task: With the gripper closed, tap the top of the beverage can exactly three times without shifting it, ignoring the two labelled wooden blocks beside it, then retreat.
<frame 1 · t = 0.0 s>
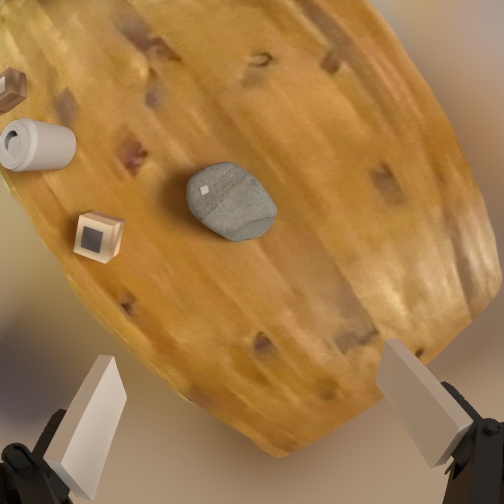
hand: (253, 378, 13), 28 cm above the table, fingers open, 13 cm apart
beech block: (106, 231, 38), on the table
stone: (232, 203, 39), on the table
beverage can: (62, 148, 34), on the table
walnut block: (16, 93, 30), on the table
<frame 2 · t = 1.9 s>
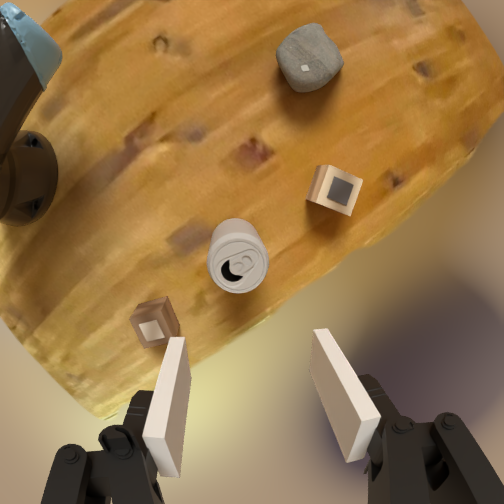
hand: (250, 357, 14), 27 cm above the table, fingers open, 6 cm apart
beech block: (327, 188, 40), on the table
stone: (307, 64, 35), on the table
beverage can: (235, 240, 40), on the table
walnut block: (159, 314, 42), on the table
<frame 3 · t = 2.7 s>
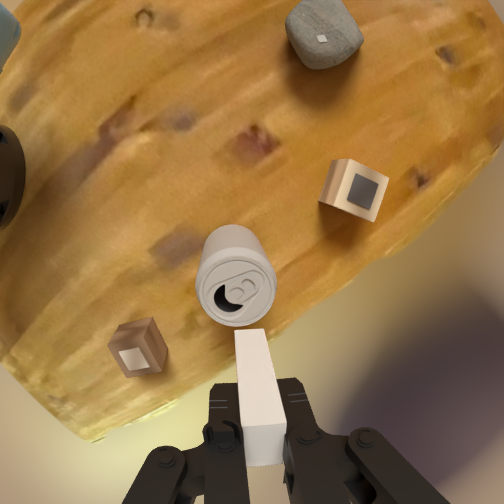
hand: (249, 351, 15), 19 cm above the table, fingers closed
beech block: (343, 187, 32), on the table
stone: (321, 39, 27), on the table
beverage can: (232, 250, 33), on the table
walnut block: (143, 336, 35), on the table
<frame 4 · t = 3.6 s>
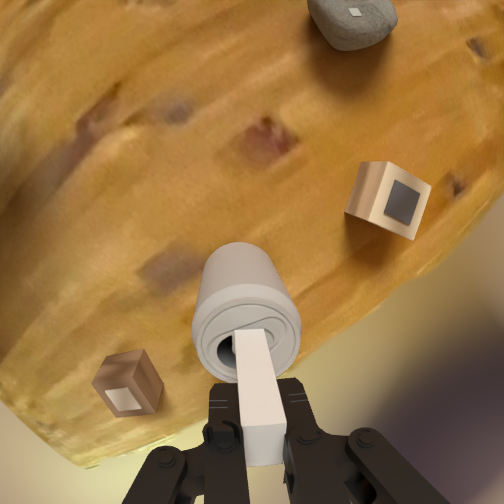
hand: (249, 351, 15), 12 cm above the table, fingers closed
beech block: (374, 196, 26), on the table
stone: (347, 18, 21), on the table
beverage can: (238, 273, 27), on the table, touching gripper
walnut block: (134, 370, 29), on the table
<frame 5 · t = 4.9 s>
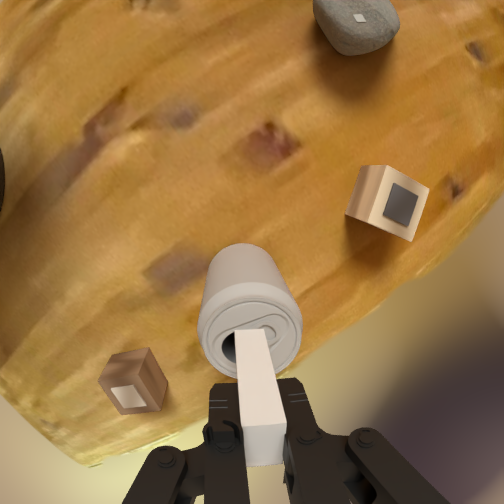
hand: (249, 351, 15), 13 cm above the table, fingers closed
beech block: (373, 199, 27), on the table
stone: (351, 23, 22), on the table
beverage can: (242, 273, 28), on the table
walnut block: (139, 368, 29), on the table
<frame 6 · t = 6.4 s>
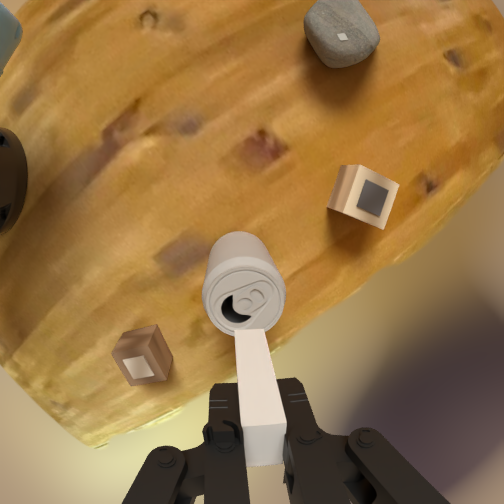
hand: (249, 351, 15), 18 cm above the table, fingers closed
beech block: (352, 194, 31), on the table
stone: (338, 38, 27), on the table
beverage can: (238, 258, 32), on the table
walnut block: (148, 344, 34), on the table
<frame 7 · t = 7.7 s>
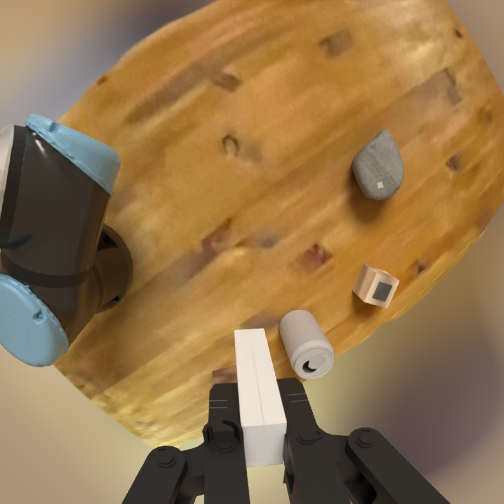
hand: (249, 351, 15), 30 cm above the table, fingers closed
beech block: (369, 280, 48), on the table
stone: (373, 164, 43), on the table
beverage can: (296, 323, 49), on the table
walnut block: (230, 377, 51), on the table
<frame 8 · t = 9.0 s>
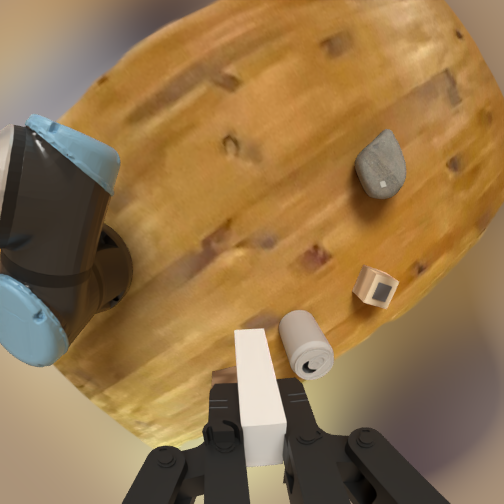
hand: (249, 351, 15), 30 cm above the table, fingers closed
beech block: (368, 281, 48), on the table
stone: (375, 163, 43), on the table
beverage can: (296, 323, 49), on the table
walnut block: (229, 377, 51), on the table
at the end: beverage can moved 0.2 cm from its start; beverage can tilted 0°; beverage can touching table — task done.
